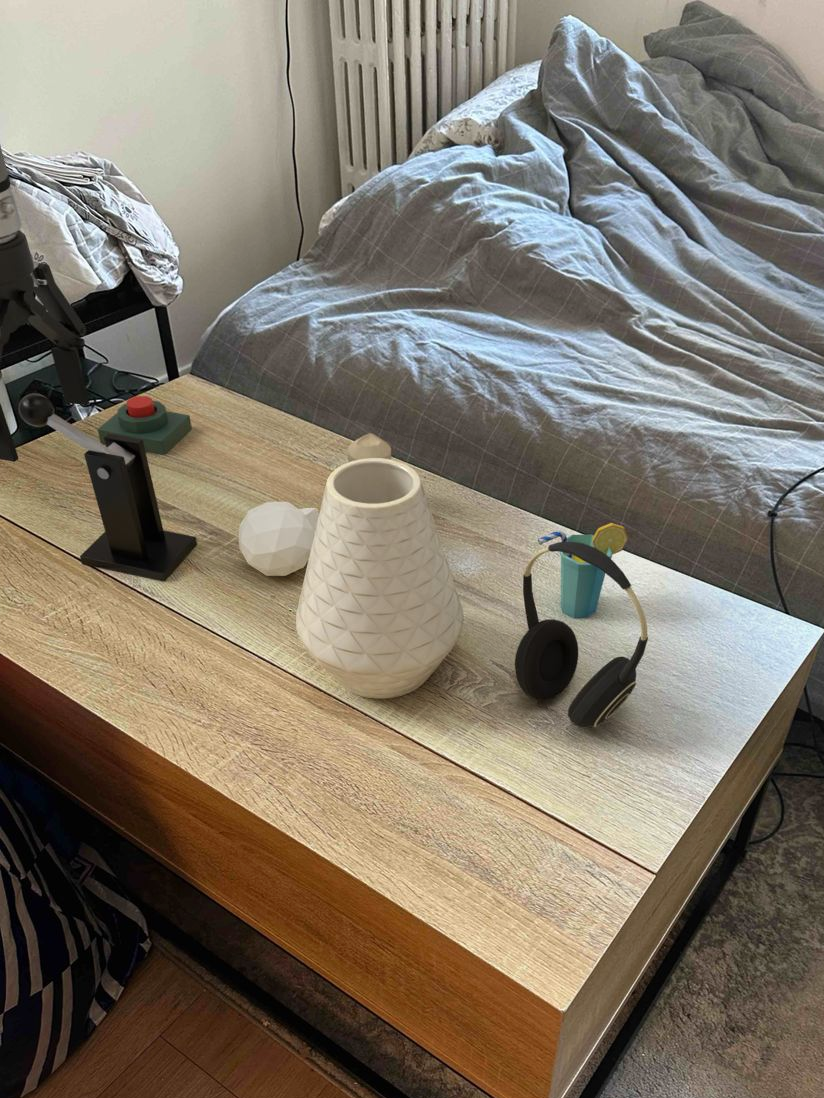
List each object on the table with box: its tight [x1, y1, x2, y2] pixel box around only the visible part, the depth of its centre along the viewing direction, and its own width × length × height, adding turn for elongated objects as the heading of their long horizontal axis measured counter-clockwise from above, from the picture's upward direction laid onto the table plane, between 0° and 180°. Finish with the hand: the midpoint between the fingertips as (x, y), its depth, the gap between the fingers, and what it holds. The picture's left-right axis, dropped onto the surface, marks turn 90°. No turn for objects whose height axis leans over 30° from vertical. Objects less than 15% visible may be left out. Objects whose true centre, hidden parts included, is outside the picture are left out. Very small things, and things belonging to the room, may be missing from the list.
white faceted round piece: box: [237, 501, 319, 577], centre depth 116 cm, size 9×9×12 cm
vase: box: [295, 458, 465, 700], centre depth 98 cm, size 17×17×23 cm
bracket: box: [79, 433, 198, 582], centre depth 113 cm, size 11×8×15 cm
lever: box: [18, 393, 135, 472], centre depth 109 cm, size 13×4×4 cm, turn 75°
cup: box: [537, 522, 629, 619], centre depth 110 cm, size 11×6×12 cm, turn 117°
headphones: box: [514, 541, 649, 729], centre depth 95 cm, size 9×15×20 cm, turn 49°
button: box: [125, 395, 155, 418], centre depth 136 cm, size 4×4×2 cm
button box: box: [97, 400, 193, 456], centre depth 138 cm, size 10×8×4 cm
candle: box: [346, 432, 392, 463], centre depth 125 cm, size 6×6×10 cm
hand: (43, 429), depth 109 cm, fingers open, 13 cm apart
